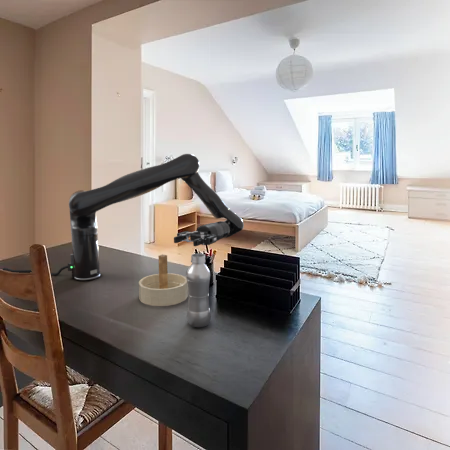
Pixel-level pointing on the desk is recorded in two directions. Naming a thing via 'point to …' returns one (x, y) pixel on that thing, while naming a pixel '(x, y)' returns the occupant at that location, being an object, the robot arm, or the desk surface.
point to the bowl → (163, 290)
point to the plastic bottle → (198, 292)
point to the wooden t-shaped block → (163, 272)
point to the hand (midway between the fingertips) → (184, 241)
